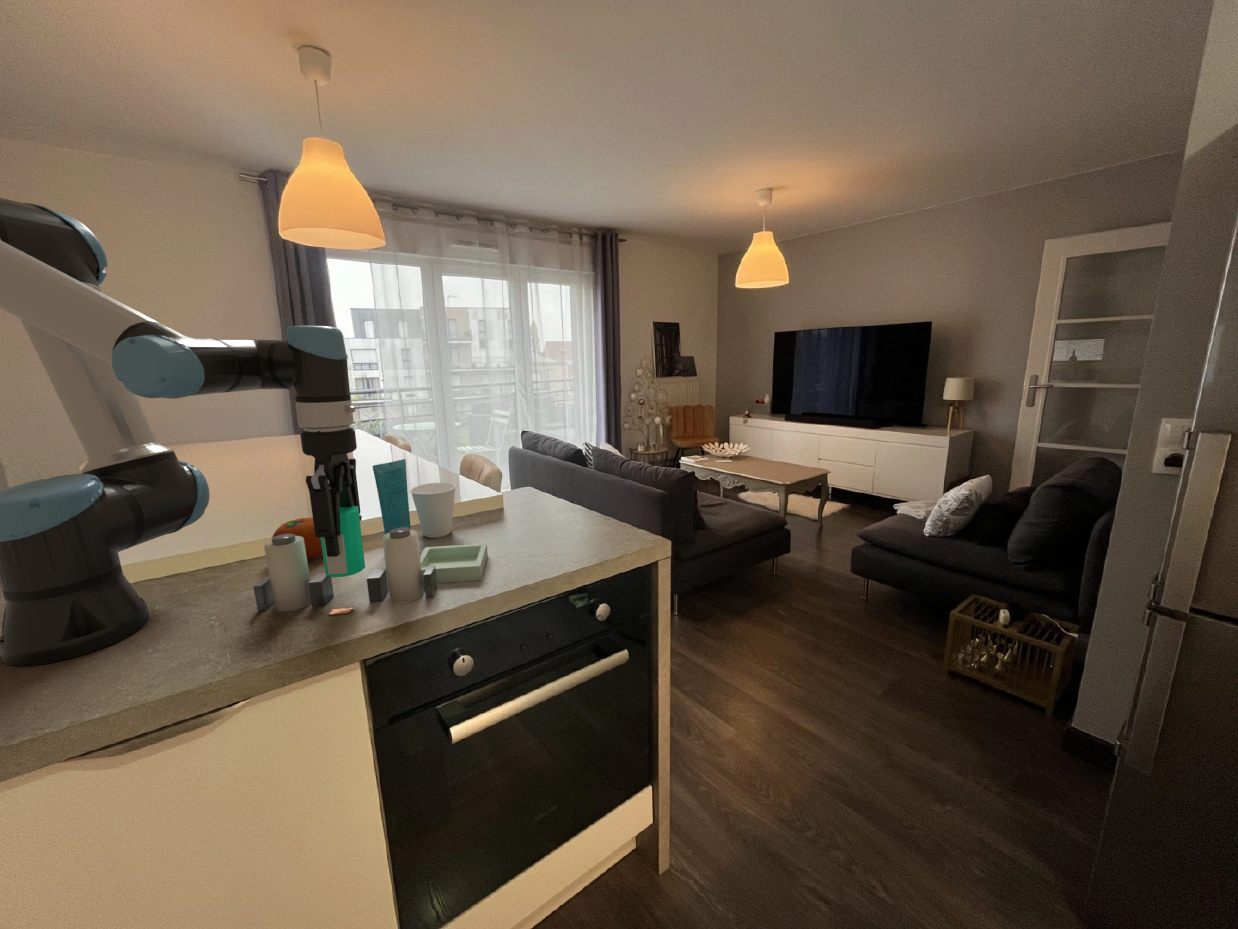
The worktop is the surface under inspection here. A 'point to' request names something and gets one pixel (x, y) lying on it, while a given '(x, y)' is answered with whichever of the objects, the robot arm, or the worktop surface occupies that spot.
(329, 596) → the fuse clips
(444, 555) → the tray
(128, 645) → the worktop surface
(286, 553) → the cylinder
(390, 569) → the fuse right
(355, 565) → the candle
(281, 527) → the fruit
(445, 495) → the cup
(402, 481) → the tube
